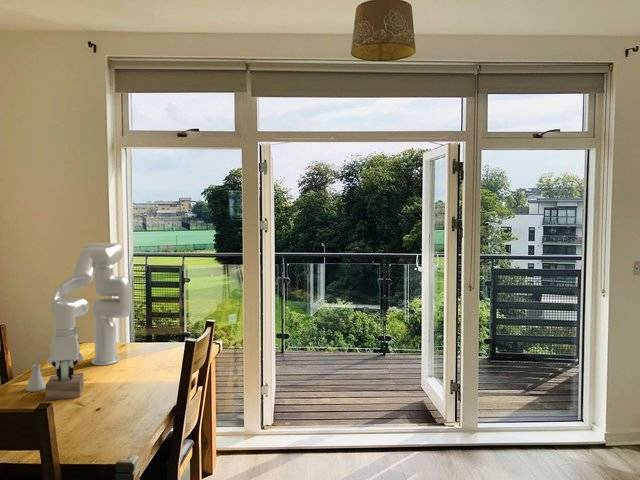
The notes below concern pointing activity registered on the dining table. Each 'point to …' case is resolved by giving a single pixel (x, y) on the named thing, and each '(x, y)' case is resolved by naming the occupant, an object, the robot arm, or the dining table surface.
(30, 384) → the flask
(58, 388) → the socket block
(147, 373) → the dining table surface
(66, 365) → the peg
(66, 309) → the robot arm
